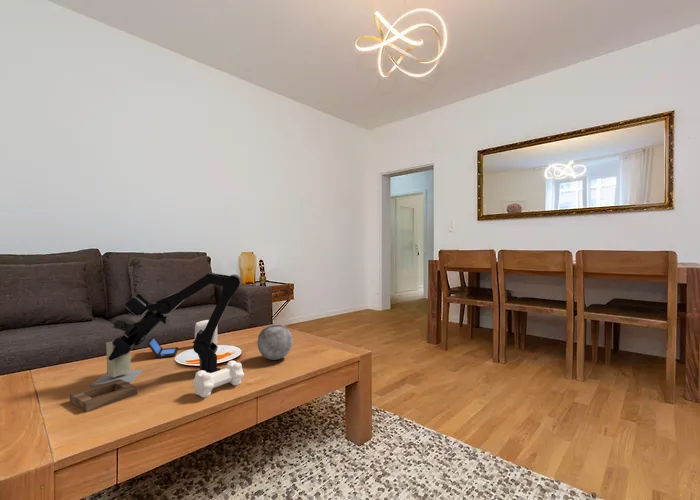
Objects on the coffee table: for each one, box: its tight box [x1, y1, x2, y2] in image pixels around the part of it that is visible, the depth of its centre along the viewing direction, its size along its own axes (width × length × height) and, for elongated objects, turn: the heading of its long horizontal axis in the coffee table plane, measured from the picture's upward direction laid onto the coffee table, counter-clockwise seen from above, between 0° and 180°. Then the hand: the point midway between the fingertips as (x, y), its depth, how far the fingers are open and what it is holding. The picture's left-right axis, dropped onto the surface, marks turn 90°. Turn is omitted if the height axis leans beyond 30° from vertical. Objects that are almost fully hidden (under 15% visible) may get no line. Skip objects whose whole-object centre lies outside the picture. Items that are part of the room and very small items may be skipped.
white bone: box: [192, 360, 245, 398], centre depth 115 cm, size 15×9×8 cm, turn 144°
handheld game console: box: [146, 336, 179, 360], centre depth 151 cm, size 12×11×7 cm
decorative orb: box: [256, 323, 294, 361], centre depth 145 cm, size 15×14×15 cm
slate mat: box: [90, 368, 143, 387], centre depth 124 cm, size 12×12×1 cm
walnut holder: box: [69, 379, 138, 413], centre depth 108 cm, size 12×14×2 cm
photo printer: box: [194, 319, 218, 346], centre depth 164 cm, size 10×4×12 cm, turn 123°
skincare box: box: [105, 340, 132, 377], centre depth 124 cm, size 6×4×12 cm
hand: (114, 356), depth 123 cm, fingers closed on skincare box, 7 cm apart
